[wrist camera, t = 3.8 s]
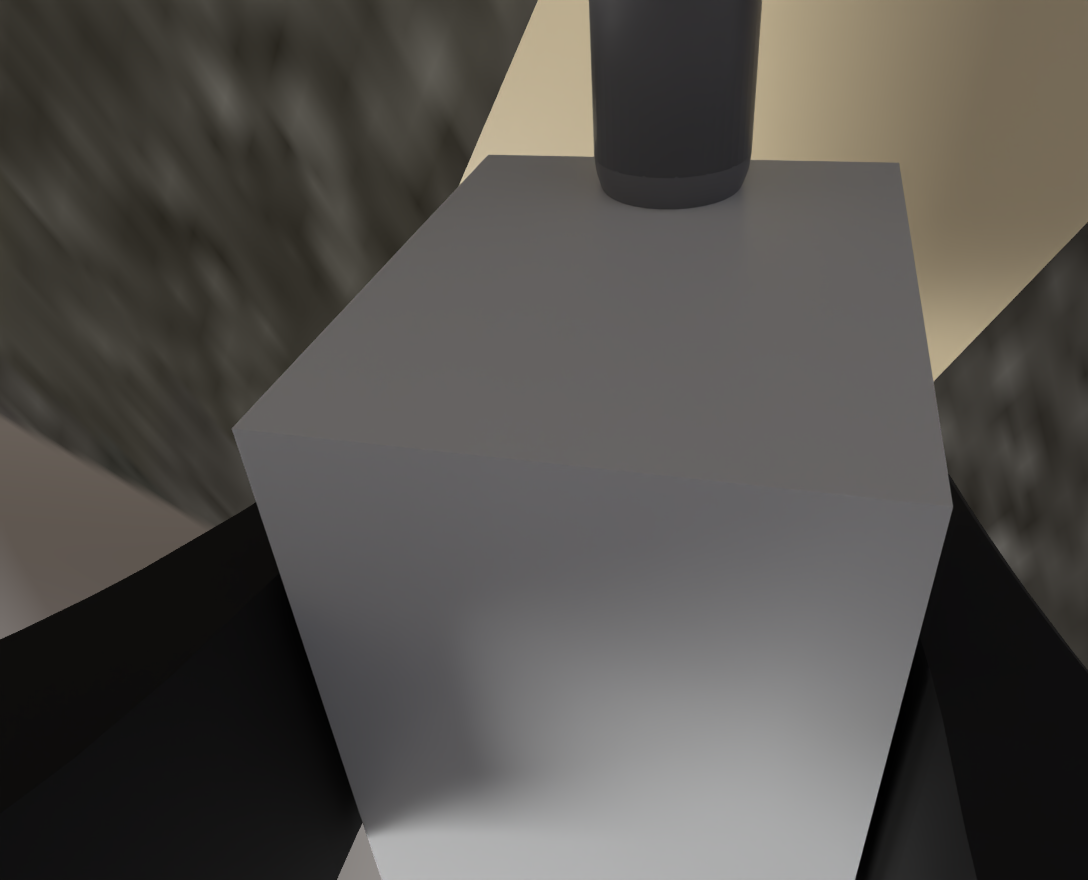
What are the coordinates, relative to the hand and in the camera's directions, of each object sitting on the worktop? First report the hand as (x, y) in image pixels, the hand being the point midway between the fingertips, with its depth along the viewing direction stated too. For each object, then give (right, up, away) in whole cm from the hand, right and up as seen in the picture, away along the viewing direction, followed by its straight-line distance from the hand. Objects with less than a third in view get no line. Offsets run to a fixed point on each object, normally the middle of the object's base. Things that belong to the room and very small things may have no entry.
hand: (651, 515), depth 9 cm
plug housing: (0, +3, 0) cm, 3 cm away
